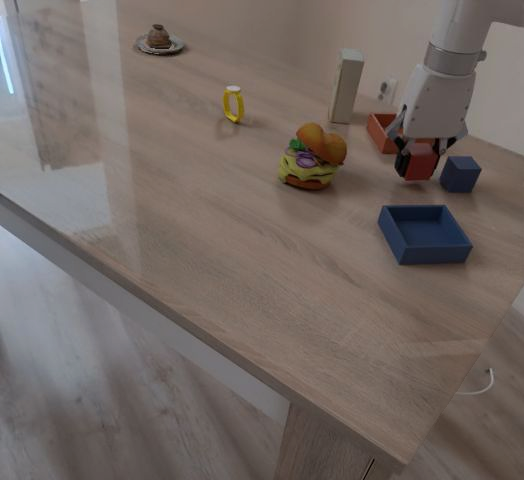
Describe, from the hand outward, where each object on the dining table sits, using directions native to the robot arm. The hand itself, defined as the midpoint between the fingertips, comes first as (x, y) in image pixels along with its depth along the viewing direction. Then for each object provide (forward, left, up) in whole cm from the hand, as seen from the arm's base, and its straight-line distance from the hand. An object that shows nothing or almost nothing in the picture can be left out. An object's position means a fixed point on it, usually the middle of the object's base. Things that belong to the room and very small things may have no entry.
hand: (413, 171), depth 85 cm
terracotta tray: (-3, -16, -2) cm, 17 cm away
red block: (0, 0, 0) cm, 0 cm away
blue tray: (+5, +17, -2) cm, 18 cm away
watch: (+30, -24, -2) cm, 38 cm away
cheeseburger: (+19, -2, -2) cm, 19 cm away
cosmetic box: (+7, -26, -2) cm, 27 cm away
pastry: (+44, -63, -2) cm, 77 cm away
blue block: (-8, +1, -2) cm, 9 cm away
